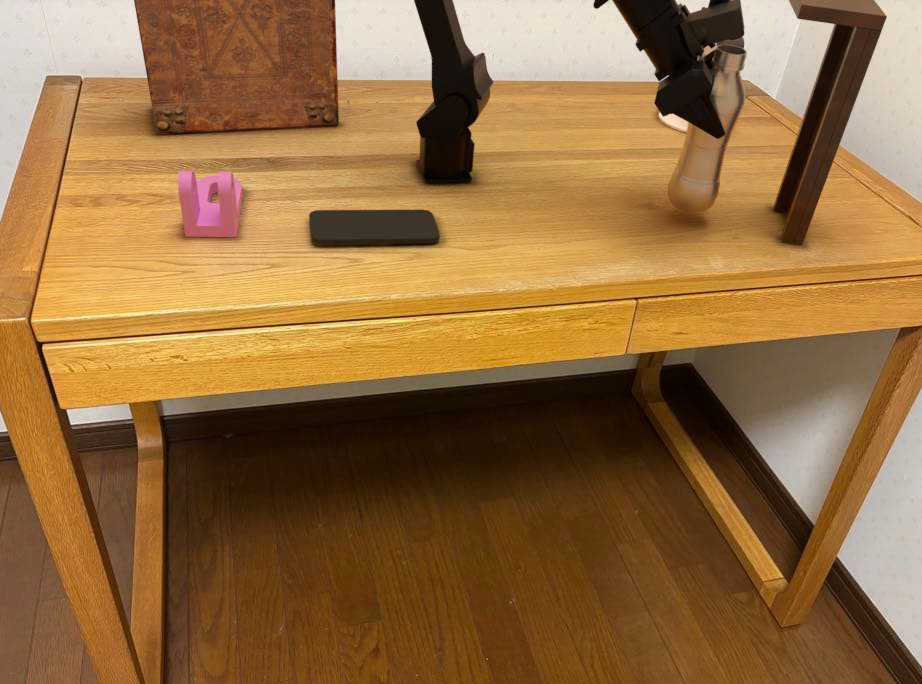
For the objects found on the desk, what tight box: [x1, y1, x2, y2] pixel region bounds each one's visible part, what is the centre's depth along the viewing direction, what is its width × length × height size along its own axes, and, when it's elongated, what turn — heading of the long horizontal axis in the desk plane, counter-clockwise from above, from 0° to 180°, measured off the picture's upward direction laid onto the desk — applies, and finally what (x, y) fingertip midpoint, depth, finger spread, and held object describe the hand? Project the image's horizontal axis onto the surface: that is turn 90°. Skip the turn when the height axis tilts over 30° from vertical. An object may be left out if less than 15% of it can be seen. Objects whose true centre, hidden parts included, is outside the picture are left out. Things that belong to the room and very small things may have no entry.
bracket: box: [177, 170, 244, 238], centre depth 99 cm, size 13×6×7 cm, turn 9°
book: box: [133, 0, 340, 135], centre depth 114 cm, size 25×9×30 cm, turn 110°
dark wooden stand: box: [772, 0, 888, 246], centre depth 104 cm, size 9×10×28 cm
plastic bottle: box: [667, 45, 748, 214], centre depth 104 cm, size 6×7×20 cm
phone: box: [308, 209, 440, 246], centre depth 101 cm, size 7×1×15 cm
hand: (722, 127), depth 103 cm, fingers closed on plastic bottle, 6 cm apart
